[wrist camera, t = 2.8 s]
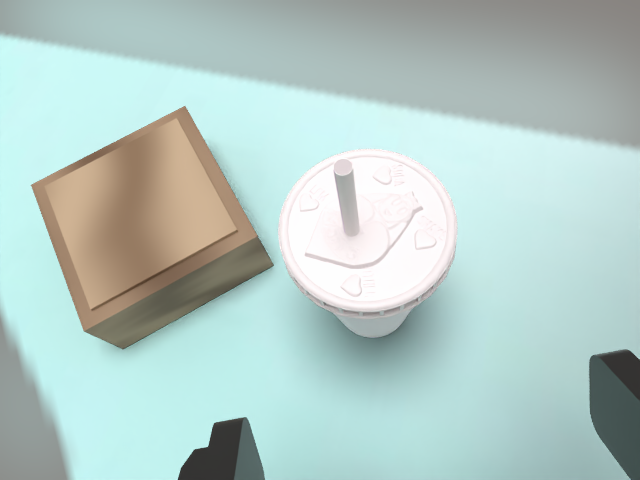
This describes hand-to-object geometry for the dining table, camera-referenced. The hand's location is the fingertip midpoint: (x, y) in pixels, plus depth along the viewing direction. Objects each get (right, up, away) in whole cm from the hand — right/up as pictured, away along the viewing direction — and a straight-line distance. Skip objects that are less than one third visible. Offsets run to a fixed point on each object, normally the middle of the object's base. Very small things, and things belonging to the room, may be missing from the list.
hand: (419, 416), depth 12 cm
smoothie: (0, +1, +15) cm, 15 cm away
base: (-11, +4, +18) cm, 21 cm away
